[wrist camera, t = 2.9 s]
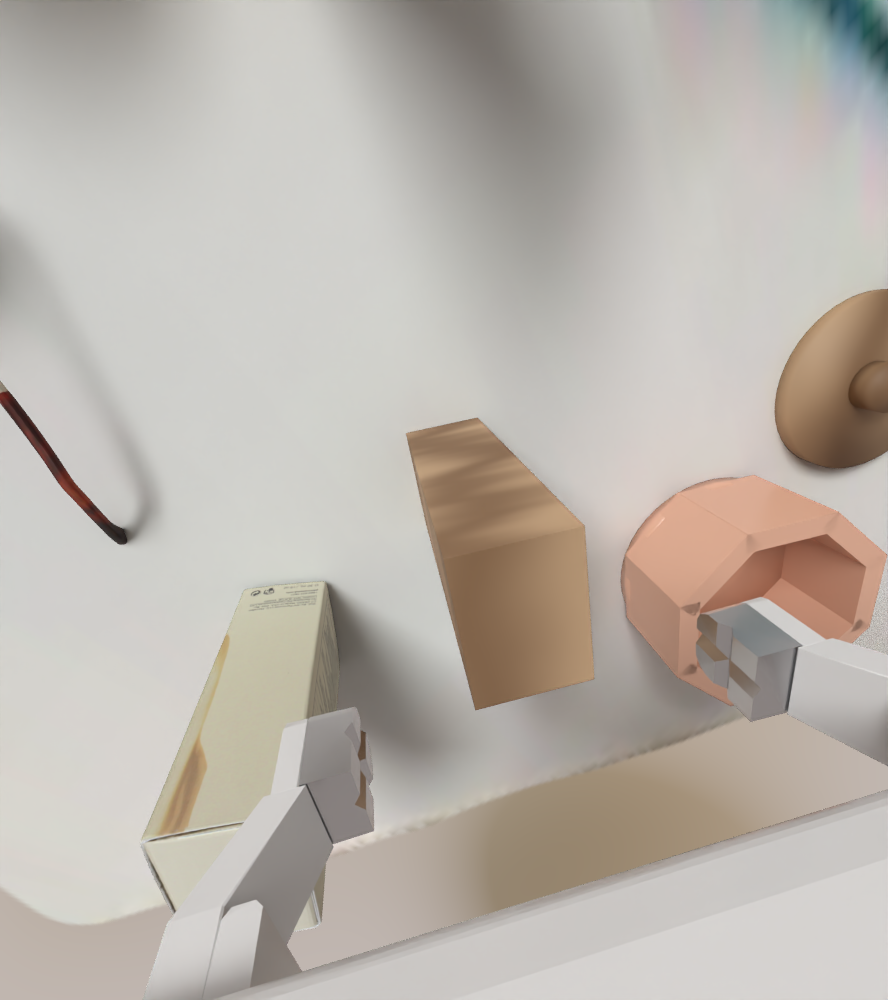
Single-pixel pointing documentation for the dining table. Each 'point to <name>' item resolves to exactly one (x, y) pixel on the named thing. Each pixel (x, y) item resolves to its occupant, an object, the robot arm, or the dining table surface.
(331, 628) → the skincare box
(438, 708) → the dining table surface
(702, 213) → the dining table surface
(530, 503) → the brown wooden block
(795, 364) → the jar lid
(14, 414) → the sunglasses
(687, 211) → the dining table surface
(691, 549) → the jar
